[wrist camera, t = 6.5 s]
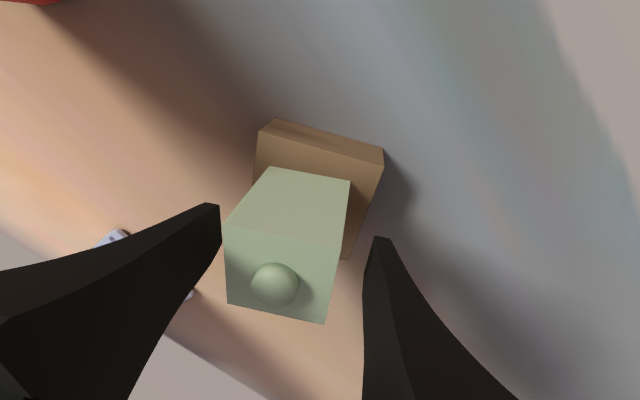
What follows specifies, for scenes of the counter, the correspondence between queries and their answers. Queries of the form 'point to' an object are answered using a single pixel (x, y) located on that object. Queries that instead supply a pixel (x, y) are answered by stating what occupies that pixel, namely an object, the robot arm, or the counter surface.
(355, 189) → the walnut block
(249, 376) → the counter surface
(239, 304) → the sage brick
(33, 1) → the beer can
